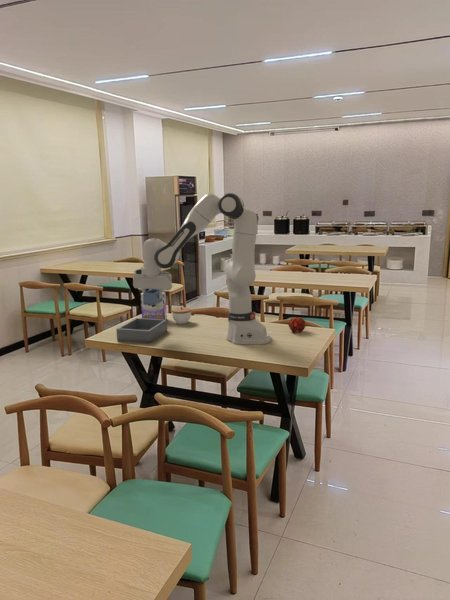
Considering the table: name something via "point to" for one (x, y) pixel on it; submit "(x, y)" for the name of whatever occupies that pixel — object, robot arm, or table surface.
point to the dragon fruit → (297, 324)
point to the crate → (141, 330)
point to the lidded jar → (181, 315)
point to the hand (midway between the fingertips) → (152, 297)
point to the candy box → (154, 309)
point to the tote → (151, 297)
